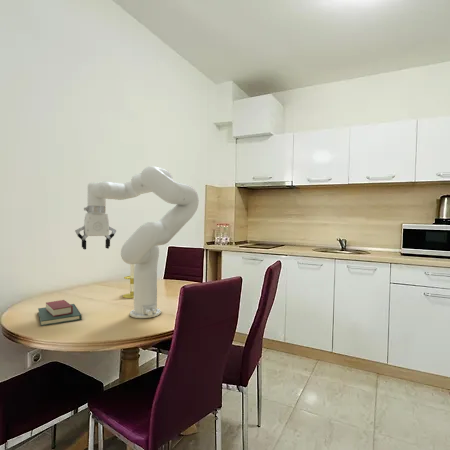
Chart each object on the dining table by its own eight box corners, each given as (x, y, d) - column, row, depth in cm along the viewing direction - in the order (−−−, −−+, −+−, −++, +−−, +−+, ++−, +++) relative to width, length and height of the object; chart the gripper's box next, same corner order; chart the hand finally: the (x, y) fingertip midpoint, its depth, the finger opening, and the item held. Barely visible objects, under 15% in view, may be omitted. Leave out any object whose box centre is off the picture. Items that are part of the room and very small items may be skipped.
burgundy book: (72, 313, 130) (72, 306, 130) (53, 316, 125) (53, 309, 125) (64, 306, 140) (63, 299, 140) (45, 309, 135) (45, 302, 135)
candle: (118, 296, 167) (118, 244, 166) (133, 292, 175) (133, 243, 174) (131, 299, 161) (131, 245, 161) (146, 295, 169) (146, 244, 169)
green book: (81, 319, 128) (81, 314, 128) (40, 326, 120) (40, 320, 120) (74, 308, 145) (74, 303, 145) (38, 313, 137) (38, 308, 137)
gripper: (77, 209, 136) (76, 250, 136) (118, 211, 145) (118, 248, 146) (73, 209, 142) (73, 248, 142) (113, 211, 152) (113, 247, 152)
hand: (96, 248), depth 144 cm, fingers open, 9 cm apart
